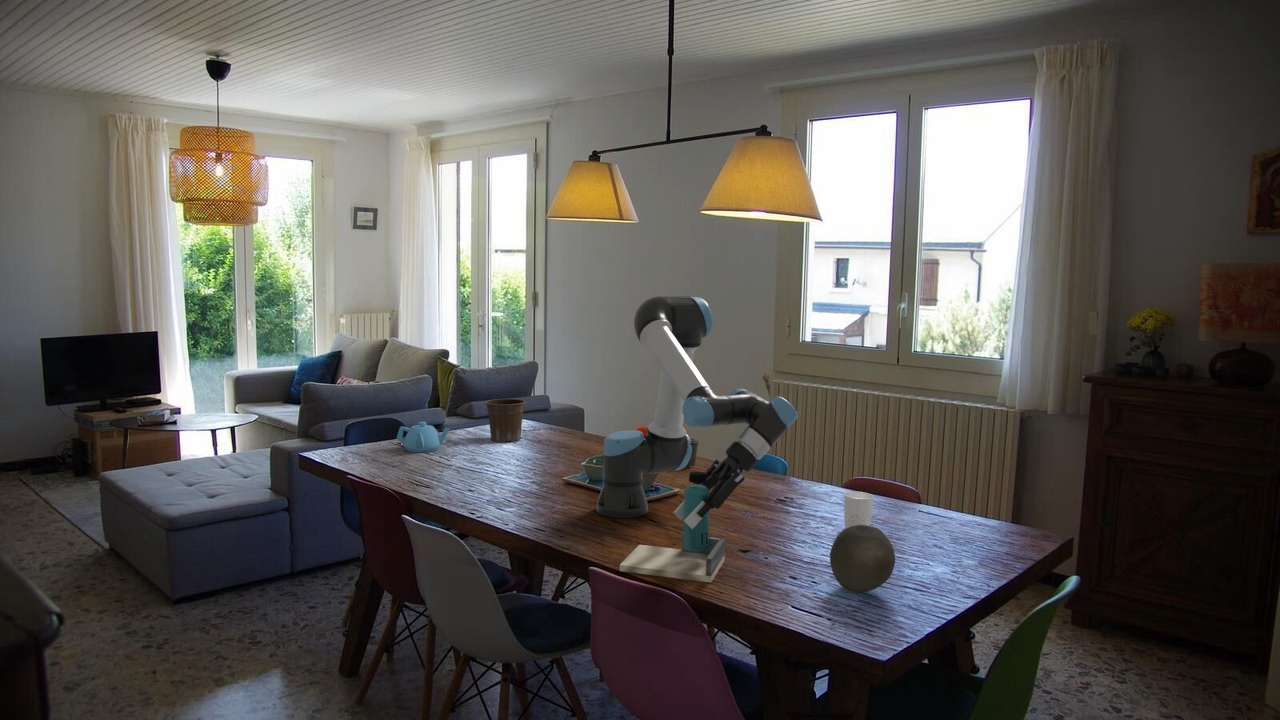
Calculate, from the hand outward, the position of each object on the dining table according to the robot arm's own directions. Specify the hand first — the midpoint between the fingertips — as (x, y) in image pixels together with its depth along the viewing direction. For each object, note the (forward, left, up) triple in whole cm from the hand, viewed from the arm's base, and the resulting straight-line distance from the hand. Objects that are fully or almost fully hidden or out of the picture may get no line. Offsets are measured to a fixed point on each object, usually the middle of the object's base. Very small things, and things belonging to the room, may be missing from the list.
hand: (682, 520), depth 204 cm
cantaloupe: (+42, -2, -12) cm, 43 cm away
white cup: (+39, +46, -12) cm, 61 cm away
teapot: (-127, +94, -12) cm, 158 cm away
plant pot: (-106, +123, -12) cm, 163 cm away
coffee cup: (-24, +105, -12) cm, 108 cm away
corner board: (-2, 0, -11) cm, 12 cm away
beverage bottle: (+3, +2, -9) cm, 9 cm away
